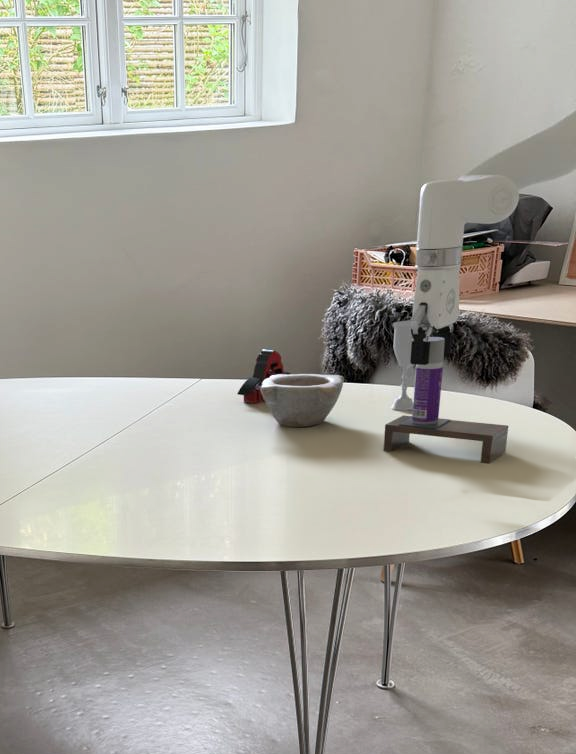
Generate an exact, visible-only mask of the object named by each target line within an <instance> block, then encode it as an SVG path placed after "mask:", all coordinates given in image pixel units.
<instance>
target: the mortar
mask: <svg viewBox="0 0 576 754" xmlns="http://www.w3.org/2000/svg"><path fill="white" fill-rule="evenodd" d="M344 382H345V377H344V376H342V375H339V374H318V373H297V374H296V373H295V374H294V373H291V374H290V375H286V374H278V375H273V376H270V378H267V379H265V380H264V381H263V382H262V387H261V394H262V396H263V398H264V401H265V403H266V405H267V407H268V409H269V411H270V413H271V415H272V416H273V418H274V419H275V421H276V423H278V424H280V425H282V426H287V427H293V428H305V427H311V426H316V425H318V424H321V423H322V422H324V421H325V419H327V417H328V415H330V413H331V412H332V411H333V409H334V407H335V405H336V403H337V402H338V400H339V398H340V395H341V392H342V391H343V385H344Z"/></svg>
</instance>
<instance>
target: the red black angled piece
mask: <svg viewBox="0 0 576 754" xmlns="http://www.w3.org/2000/svg"><path fill="white" fill-rule="evenodd" d="M255 362H256V363H255V365H254V369H253V374H252V377H251V376H249V378H247V379H246V380H245V382H244V383H243V384H242V385H241V387H240V388H239V389H238V392H237V393H236V394H237V395H239V396H243V402H244V403H248V404H249V403H250V404H259V403H261V402H264V401H265V400H264V398H263V396H262V394H261V387H262V382H263V381H264V380H265V379H267V378H270V376H273V375H278V374H286V375H290V374H292V373H291V372H288V371H284V365H283V363H282V356H281V354H280V352H278V351H276V350H273V349H262V350H261V351H260V353H259V354H258V356H257V357H256V359H255Z"/></svg>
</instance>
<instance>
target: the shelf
mask: <svg viewBox="0 0 576 754" xmlns="http://www.w3.org/2000/svg"><path fill="white" fill-rule="evenodd" d="M508 432H509V425H506V424H497V423H487V422H486V423H485V422H475V421H465V420H454V419H450V418H449V419H448V418H439V417H438V422H437V423H435V424H430V425H420V424H415V423H413V422H412V415H405V414H404V415H401V416H399V417H397V418H395V419H394V420H391V421H390V422H387V423H386V424H385V425H384V437H383V438H384V439H383V451H384V452H393V451H395V450H397V449H398V448H400V447H402V446H404V445H406V444H407V443H410V434H411V435H421V436H429V437H439V438H448V439H456V440H457V439H458V440H465V441H466V440H467V441H475V442H482V446H481V453H480V454H481V455H480V464H481V463H482V464H491V463H492V462H494V461H495V460H497V459H498V458H500V457H502V455H504V454H505V453H506V449H507V443H508Z"/></svg>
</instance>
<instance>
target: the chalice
mask: <svg viewBox="0 0 576 754" xmlns="http://www.w3.org/2000/svg"><path fill="white" fill-rule="evenodd" d="M392 326H393V331H394V333H393V346H392V348H393V351H394V356H395V358H396V361H397V364H398V366H399V367H400V368H403V373H402V376H401V379H402V383H401V384H400V387H401V391H402V392H401V393H400V396H396V398H395V399H394V402H393V403H392V404H393V405H391V408H390V409H391V410H394V411H400V412H403V411H404V412H405V411H413V398H412V397H411V396H408V394H407V393H408V392H407V389H408V387H409V386H410V385H409V384H408V379H409V378H410V375H409V368H411V367H413V366H414V364H411V363H410V360H411V345H412V341H411V336H412V334H411V329H412V328H411V320H401V321H394V322H393V323H392Z"/></svg>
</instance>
